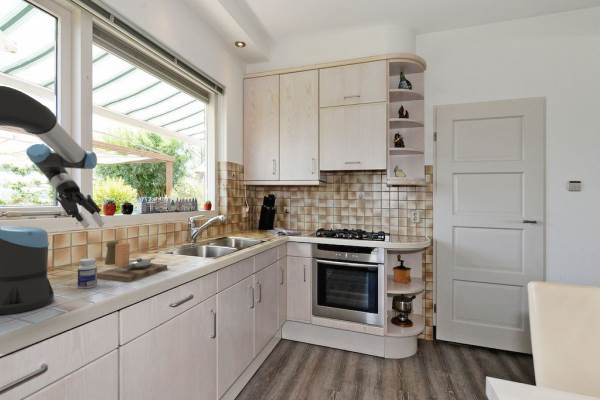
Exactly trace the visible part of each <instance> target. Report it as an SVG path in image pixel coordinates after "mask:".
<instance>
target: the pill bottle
mask: <svg viewBox="0 0 600 400" xmlns="http://www.w3.org/2000/svg"><path fill="white" fill-rule="evenodd" d="M96 260H97V259H96V258H95V257H88V258H82V259H80V260H79V264H80V265H79V266H78V267H77V288H78V289H82V290H84V289H92V288H94V287H96V286H97V285H98V279H97V273H98V265H97V264H96V263H97V261H96Z"/></svg>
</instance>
